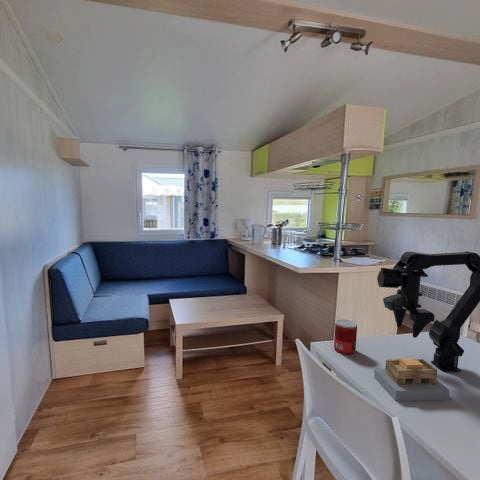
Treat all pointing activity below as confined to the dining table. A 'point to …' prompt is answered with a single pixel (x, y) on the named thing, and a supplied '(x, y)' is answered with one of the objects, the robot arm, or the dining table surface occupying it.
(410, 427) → the dining table surface
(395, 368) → the shallow cardboard tray
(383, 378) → the dock
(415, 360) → the block
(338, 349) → the canned food
